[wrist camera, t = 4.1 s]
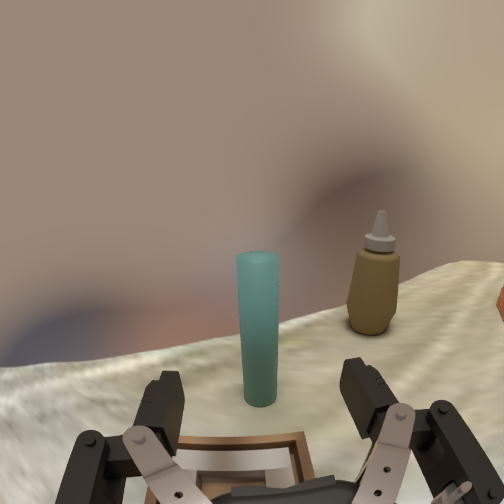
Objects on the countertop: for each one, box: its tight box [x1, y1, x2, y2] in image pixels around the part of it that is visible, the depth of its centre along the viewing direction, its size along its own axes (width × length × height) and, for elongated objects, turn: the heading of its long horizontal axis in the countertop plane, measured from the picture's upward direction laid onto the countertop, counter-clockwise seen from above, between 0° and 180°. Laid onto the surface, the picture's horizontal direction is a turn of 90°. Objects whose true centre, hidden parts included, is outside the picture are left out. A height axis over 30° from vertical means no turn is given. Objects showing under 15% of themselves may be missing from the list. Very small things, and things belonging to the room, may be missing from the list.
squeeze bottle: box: [346, 210, 400, 335], centre depth 37 cm, size 8×8×18 cm
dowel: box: [236, 251, 279, 407], centre depth 25 cm, size 4×4×16 cm
